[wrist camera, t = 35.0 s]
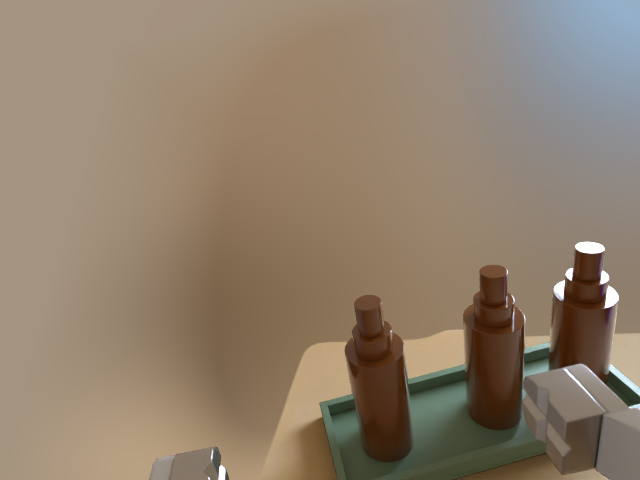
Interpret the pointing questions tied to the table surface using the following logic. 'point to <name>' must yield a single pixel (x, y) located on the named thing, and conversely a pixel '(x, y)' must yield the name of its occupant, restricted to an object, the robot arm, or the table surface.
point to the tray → (446, 429)
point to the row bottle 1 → (494, 353)
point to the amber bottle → (379, 384)
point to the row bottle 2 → (584, 314)
